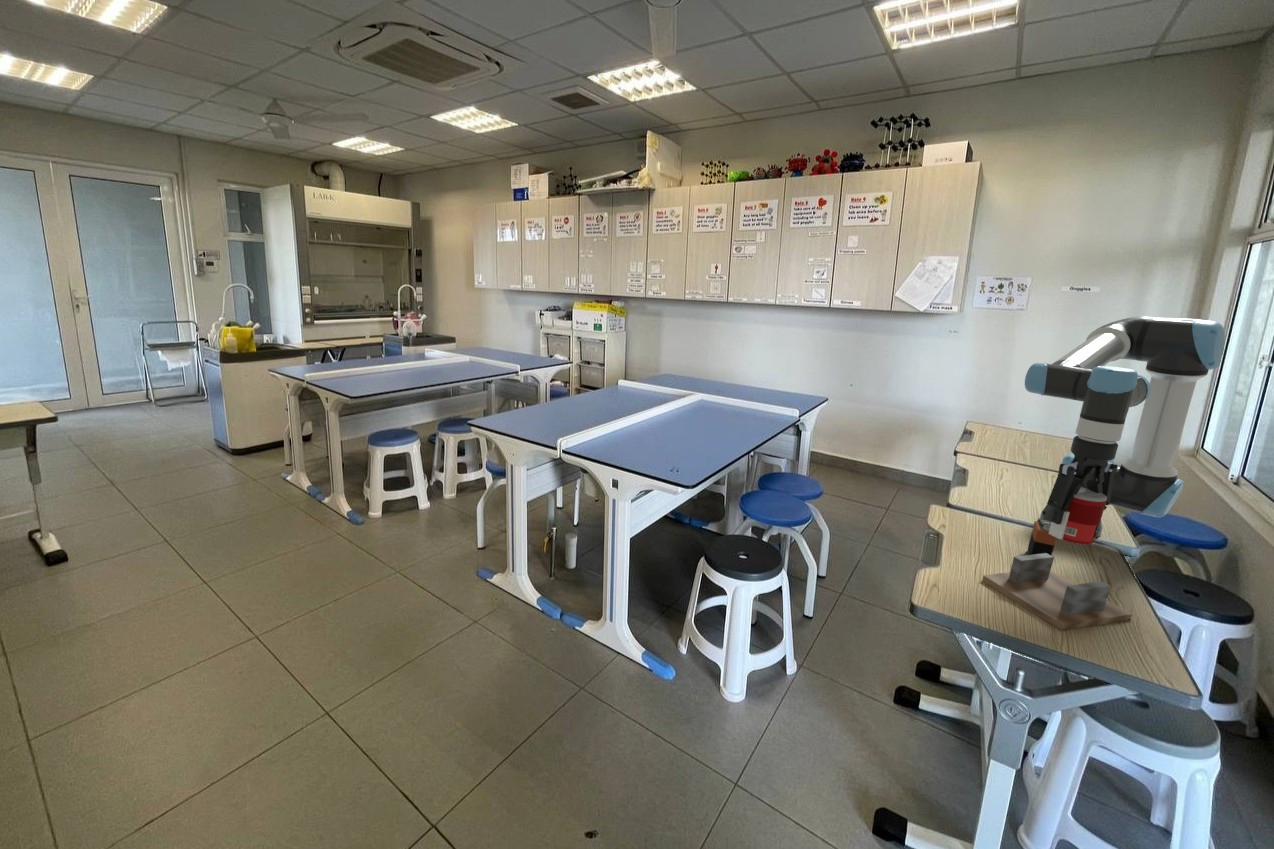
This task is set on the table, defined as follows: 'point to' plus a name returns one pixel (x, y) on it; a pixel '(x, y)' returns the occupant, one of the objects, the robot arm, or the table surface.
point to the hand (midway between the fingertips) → (1070, 534)
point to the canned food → (1084, 517)
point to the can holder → (1056, 594)
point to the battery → (1041, 539)
